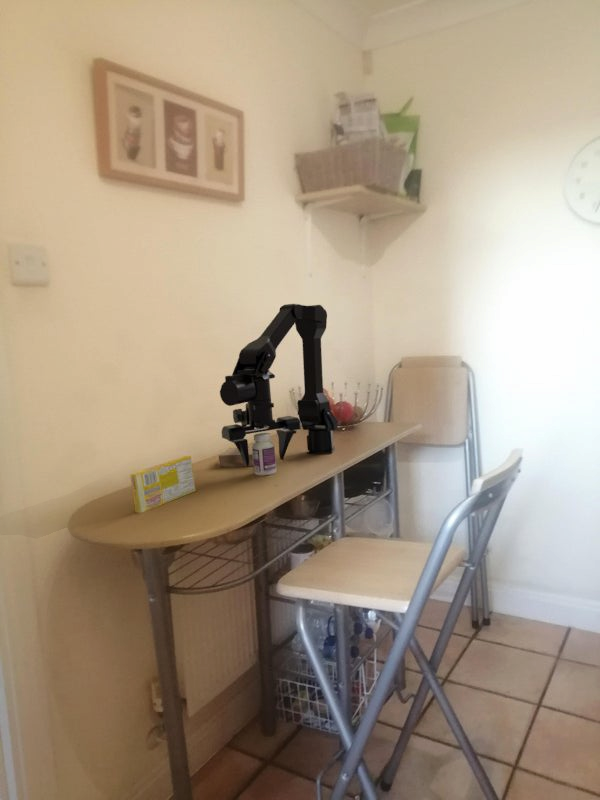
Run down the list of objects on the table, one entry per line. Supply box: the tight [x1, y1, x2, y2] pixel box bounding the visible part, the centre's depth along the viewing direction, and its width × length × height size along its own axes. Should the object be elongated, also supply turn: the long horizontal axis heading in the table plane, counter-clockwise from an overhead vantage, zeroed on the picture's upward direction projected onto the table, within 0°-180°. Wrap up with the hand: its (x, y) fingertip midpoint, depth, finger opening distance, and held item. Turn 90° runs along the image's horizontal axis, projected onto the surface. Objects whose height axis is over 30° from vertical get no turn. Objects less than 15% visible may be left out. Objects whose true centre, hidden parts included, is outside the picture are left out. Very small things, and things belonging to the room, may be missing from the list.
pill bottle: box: [251, 432, 277, 476], centre depth 149 cm, size 5×5×10 cm
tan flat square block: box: [218, 446, 254, 468], centre depth 164 cm, size 9×9×3 cm
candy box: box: [129, 455, 197, 514], centre depth 132 cm, size 16×2×8 cm, turn 146°
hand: (264, 462), depth 150 cm, fingers open, 9 cm apart
